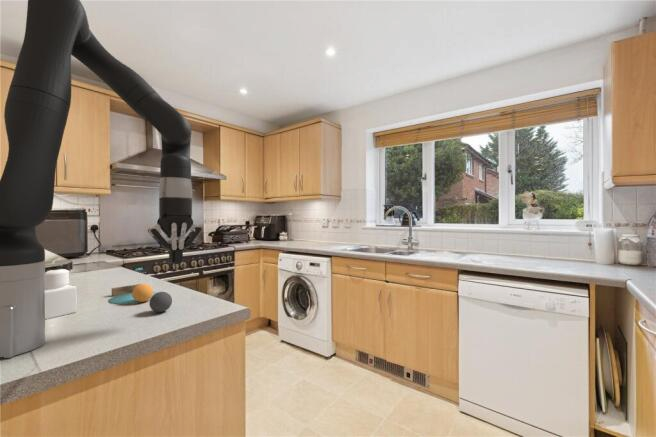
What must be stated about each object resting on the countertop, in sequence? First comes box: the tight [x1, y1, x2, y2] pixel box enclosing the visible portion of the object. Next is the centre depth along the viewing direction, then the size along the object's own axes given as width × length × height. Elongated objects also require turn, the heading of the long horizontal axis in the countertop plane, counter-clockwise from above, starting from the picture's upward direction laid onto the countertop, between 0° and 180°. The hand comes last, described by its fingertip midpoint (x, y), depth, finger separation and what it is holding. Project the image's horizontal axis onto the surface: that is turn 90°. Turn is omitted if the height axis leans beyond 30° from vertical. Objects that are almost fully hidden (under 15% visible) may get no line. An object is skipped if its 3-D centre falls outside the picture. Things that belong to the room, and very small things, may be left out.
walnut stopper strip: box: [111, 283, 141, 297], centre depth 102 cm, size 9×1×2 cm, turn 139°
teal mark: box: [108, 291, 158, 305], centre depth 97 cm, size 14×14×1 cm
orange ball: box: [132, 283, 154, 303], centre depth 93 cm, size 6×6×6 cm
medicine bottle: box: [45, 267, 78, 321], centre depth 81 cm, size 7×7×12 cm
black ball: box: [148, 291, 173, 313], centre depth 84 cm, size 6×6×6 cm
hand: (175, 264), depth 78 cm, fingers closed
